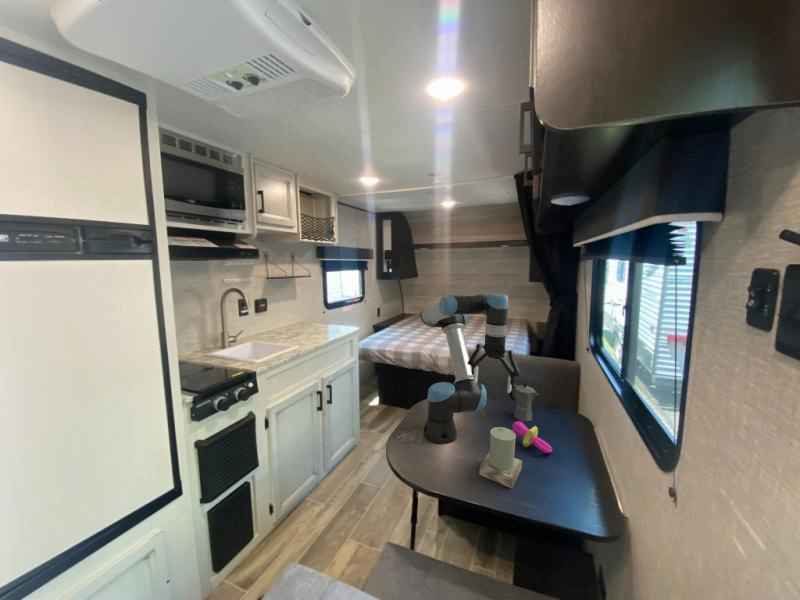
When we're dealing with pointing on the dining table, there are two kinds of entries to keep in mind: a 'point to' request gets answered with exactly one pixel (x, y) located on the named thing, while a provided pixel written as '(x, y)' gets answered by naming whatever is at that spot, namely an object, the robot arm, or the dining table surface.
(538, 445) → the toy
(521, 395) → the coffeepot
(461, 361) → the robot arm
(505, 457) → the can
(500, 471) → the pedestal
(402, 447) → the dining table surface
